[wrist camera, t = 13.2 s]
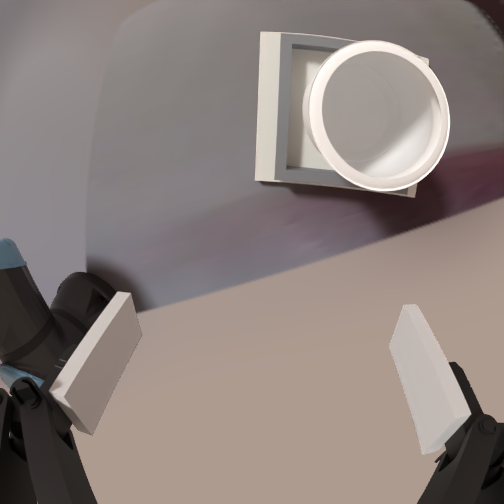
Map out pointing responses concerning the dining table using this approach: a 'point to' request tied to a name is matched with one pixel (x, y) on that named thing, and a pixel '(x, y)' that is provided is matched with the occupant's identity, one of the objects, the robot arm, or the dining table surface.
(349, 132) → the jar
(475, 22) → the dining table surface
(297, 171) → the socket board
